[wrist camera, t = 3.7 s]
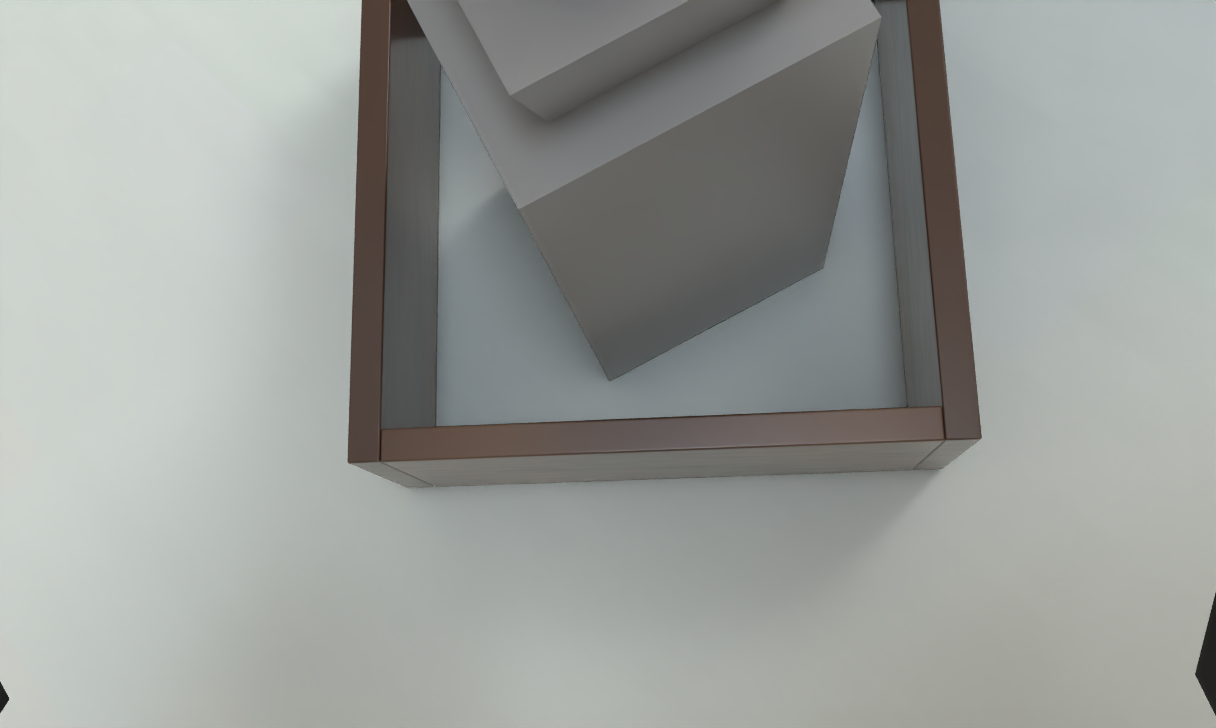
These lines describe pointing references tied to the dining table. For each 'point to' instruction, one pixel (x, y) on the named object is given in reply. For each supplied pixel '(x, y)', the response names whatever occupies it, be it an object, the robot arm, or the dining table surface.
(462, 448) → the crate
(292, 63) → the dining table surface
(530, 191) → the perfume bottle
